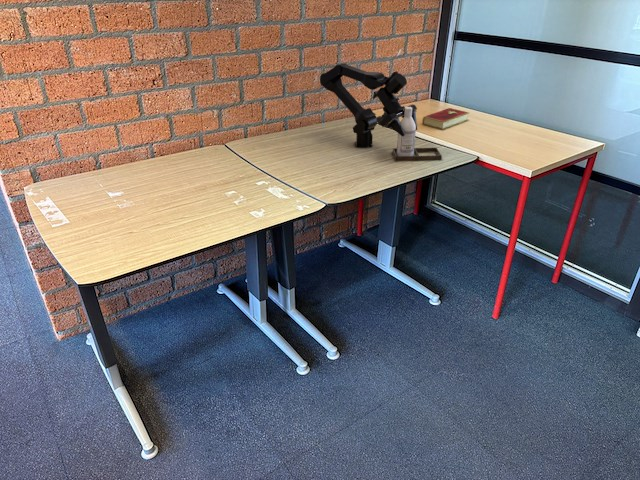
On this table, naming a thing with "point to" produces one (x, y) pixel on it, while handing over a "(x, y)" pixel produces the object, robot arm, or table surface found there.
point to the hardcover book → (445, 118)
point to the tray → (416, 155)
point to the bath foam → (407, 135)
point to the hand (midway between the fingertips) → (410, 133)
